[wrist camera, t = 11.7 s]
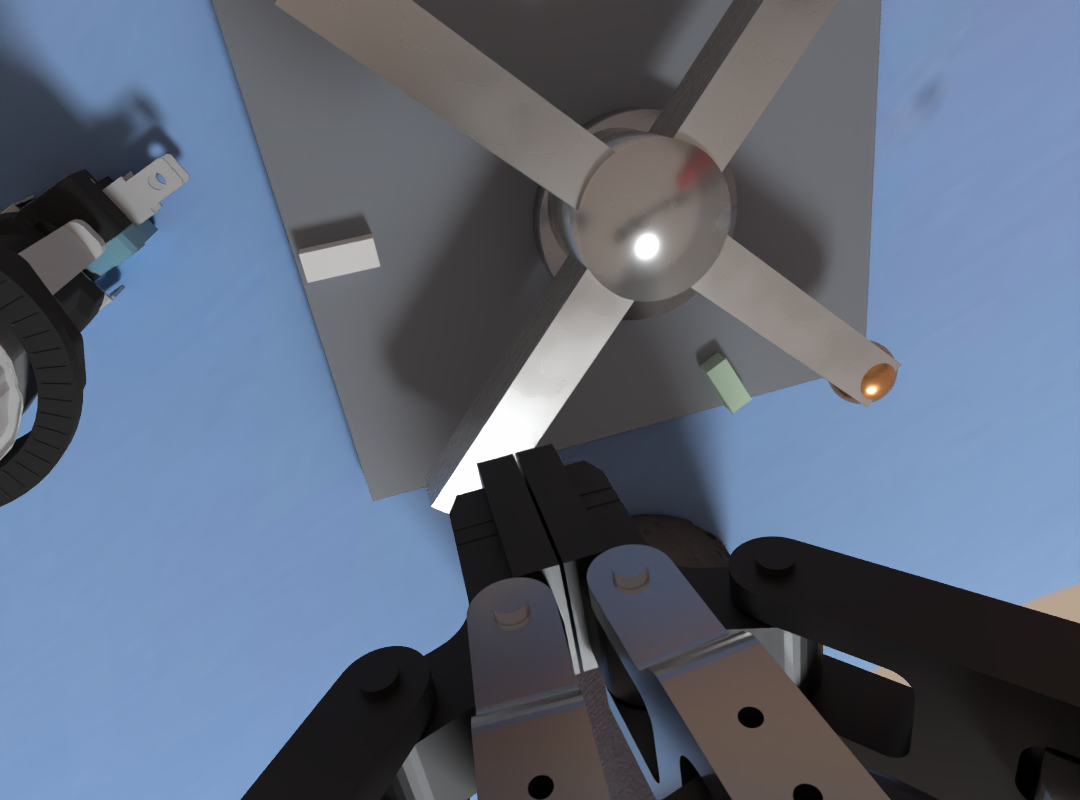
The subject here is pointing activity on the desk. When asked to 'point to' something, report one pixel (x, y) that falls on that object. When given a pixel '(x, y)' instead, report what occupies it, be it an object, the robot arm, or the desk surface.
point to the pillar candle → (614, 752)
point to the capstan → (612, 208)
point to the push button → (61, 303)
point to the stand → (507, 213)
